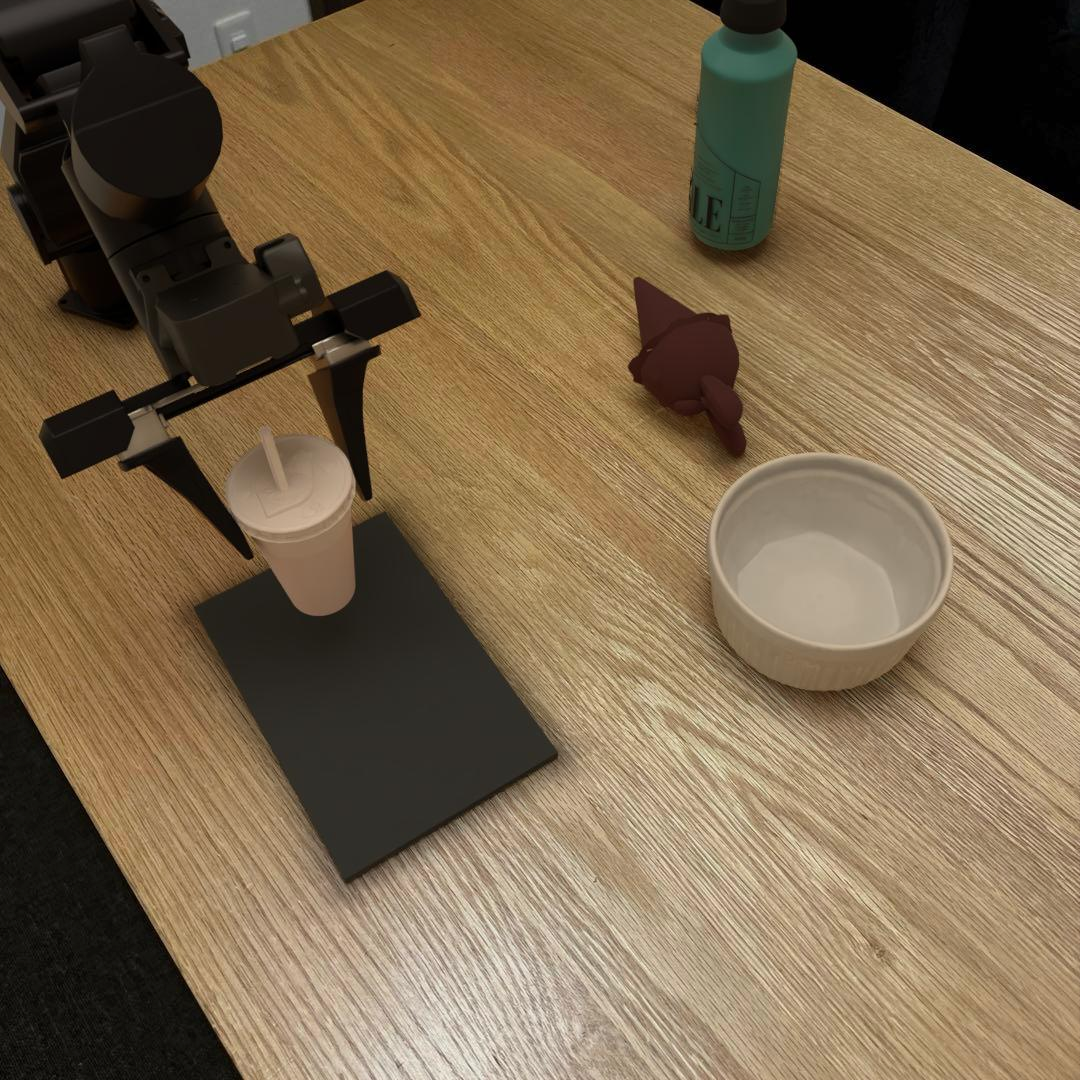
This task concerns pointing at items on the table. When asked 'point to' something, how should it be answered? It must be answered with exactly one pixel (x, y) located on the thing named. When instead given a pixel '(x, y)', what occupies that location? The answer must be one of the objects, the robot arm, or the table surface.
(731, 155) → the beverage bottle
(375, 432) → the table surface
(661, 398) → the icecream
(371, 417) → the table surface
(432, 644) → the mat
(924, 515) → the ramekin
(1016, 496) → the table surface
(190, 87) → the robot arm
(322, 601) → the smoothie
